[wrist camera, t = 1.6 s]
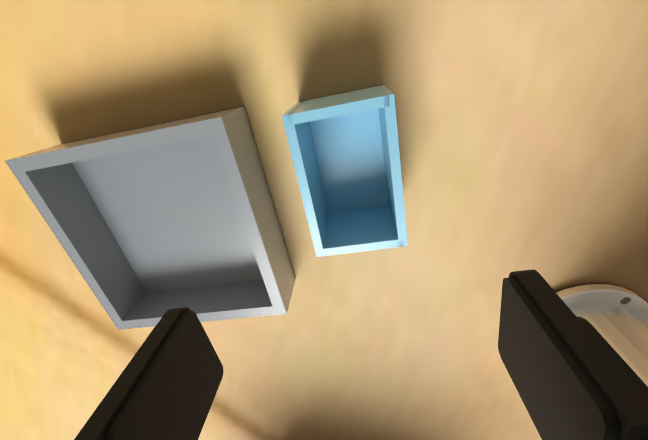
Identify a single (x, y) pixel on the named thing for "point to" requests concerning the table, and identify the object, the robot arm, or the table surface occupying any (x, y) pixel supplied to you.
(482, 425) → the table surface
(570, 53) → the table surface
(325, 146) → the teal crate
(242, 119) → the grey square tray
